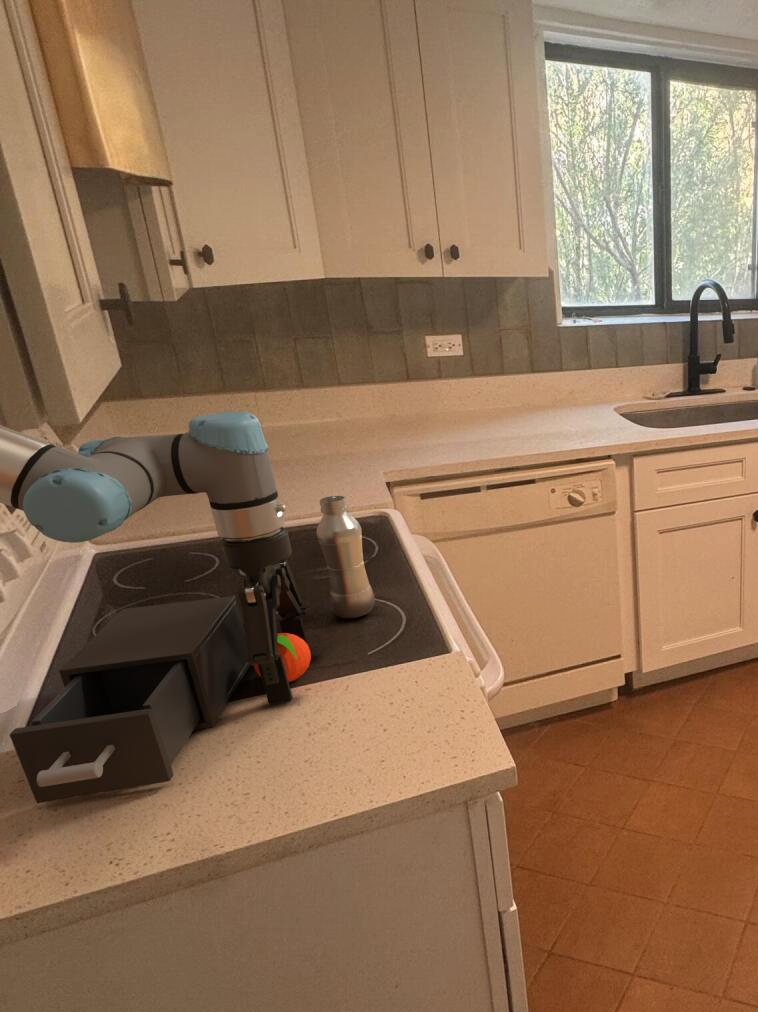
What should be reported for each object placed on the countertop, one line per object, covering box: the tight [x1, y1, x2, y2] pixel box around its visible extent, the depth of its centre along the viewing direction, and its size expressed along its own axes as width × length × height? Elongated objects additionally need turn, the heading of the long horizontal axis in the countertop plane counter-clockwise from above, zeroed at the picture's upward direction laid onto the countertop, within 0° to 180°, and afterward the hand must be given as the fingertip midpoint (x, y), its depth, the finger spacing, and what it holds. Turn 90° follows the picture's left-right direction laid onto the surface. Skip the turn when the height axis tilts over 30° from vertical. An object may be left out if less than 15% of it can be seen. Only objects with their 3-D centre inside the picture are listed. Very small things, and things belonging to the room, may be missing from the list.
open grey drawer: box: [9, 659, 203, 804], centre depth 89 cm, size 22×12×9 cm, turn 17°
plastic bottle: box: [315, 495, 376, 619], centre depth 126 cm, size 6×7×20 cm
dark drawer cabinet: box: [58, 595, 251, 731], centre depth 103 cm, size 18×14×11 cm
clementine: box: [253, 632, 312, 683], centre depth 108 cm, size 8×7×7 cm
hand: (291, 679), depth 109 cm, fingers open, 11 cm apart
